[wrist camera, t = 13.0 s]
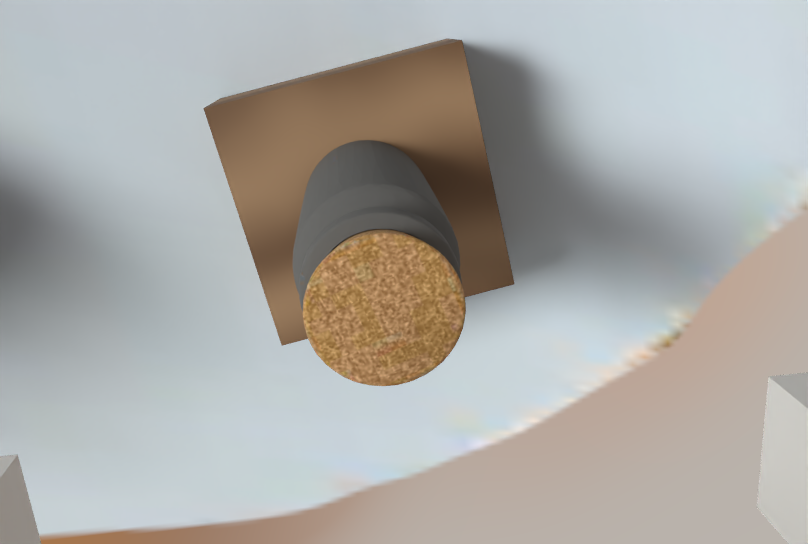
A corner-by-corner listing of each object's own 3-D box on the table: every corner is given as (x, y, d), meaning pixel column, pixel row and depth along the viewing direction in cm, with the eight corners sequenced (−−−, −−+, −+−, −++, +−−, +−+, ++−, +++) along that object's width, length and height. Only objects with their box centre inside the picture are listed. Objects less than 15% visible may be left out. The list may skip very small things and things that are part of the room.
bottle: (423, 133, 35) (480, 204, 21) (432, 253, 37) (489, 394, 23) (297, 144, 35) (269, 224, 21) (312, 265, 37) (294, 415, 23)
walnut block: (220, 98, 39) (203, 108, 34) (447, 38, 39) (461, 40, 34) (288, 310, 43) (281, 345, 38) (495, 255, 43) (514, 284, 38)
